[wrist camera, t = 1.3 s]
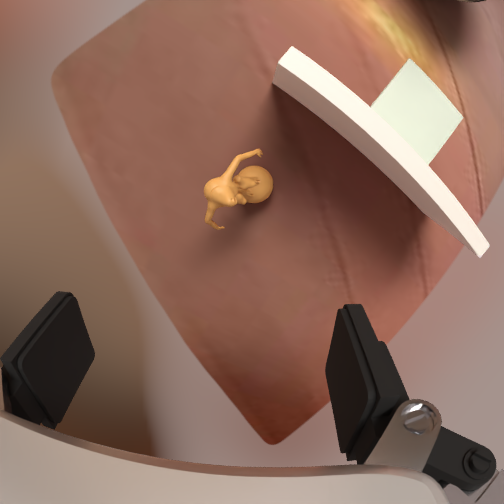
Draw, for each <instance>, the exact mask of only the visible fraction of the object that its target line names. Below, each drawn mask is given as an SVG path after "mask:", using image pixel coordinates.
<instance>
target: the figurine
mask: <svg viewBox="0 0 504 504" xmlns="http://www.w3.org/2000/svg"><path fill="white" fill-rule="evenodd" d="M261 152H262V151H260V149H256V150H254V151H250V152H247V153H244V154H240V155H238V156H236V157H235V158H234V160H233V161H232V163H231V164H230V166H229V167H228V169H227V170H226V172H225V173H224V174H223V175H222V176H221V177H218V178H214V179H211V180H210V181H208V182H207V184H206V185H205V187H204V195H205V197H206V198H207V200H208V209H207V212H206V216H205V222H206V223H207V224H209V225H210V226H212V227H213V228H215V229H223V228H224V227H218V226H217V224H216V223H215V222H213V221H212V220H211V218H212V217H213V215H214V212H215V210H216V209H217V208H219V207H224V206H228V207H232V206H234V205H236V204H243V205H244V204H246V202H249V203H259V202H262V201H264V200H265V199H267V198H268V197H269V195H270V194H271V192H272V189H273V180H272V177H271V175H270V173H269V172H268V171H267V170H266V169H264V168H262V167H260V166H249V167H246V168H244V169H243V170H242V171H241V172H240V173H239V174H238V175H236V176H234V178H233V181H232V176H233V174H234V172H235V171H236V169H237V167H238V165H239V163H240V161H242V160H244V159H246V158H250V157H252V156H254V155H255V154H257V155H258V156H259V157H261V156H260V154H261V155H263V154H262V153H261Z"/></svg>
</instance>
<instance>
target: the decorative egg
mask: <svg viewBox="0 0 504 504" xmlns="http://www.w3.org/2000/svg"><path fill="white" fill-rule="evenodd" d="M458 1H464V2H480V1H486V0H458Z"/></svg>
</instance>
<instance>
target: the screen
mask: <svg viewBox="0 0 504 504" xmlns="http://www.w3.org/2000/svg"><path fill="white" fill-rule="evenodd" d="M272 83H273V84H275V85H276V86H278V87H279V88H280V89H282V90H283V91H285V92H286V93H288V94H289V95H290V96H292V97H293V98H294V99H296V100H297V101H298V102H300V103H301V104H303V105H304V106H305V107H307V108H308V109H309V110H310V111H312V112H313V113H314V114H316V115H317V116H318V117H319V118H321V119H322V120H323V121H325V122H326V123H327V124H328V125H329V126H331V127H332V128H333V129H334V130H336V131H337V132H338V133H339V134H340V135H342V136H343V137H344V138H345V139H346V140H348V141H349V142H350V143H351V144H352V145H353V146H355V147H356V148H357V149H358V150H359V151H360V152H361V153H362V154H364V155H365V156H366V157H367V158H368V159H369V160H370V161H371V162H372V163H374V164H375V165H376V166H377V167H378V168H379V169H380V170H381V171H382V172H383V173H384V174H385V175H386V176H387V177H388V178H389V179H390V180H392V181H393V182H394V183H395V184H396V185H397V186H398V187H399V188H400V189H401V190H402V191H403V192H404V193H405V194H406V195H407V196H408V197H409V198H410V200H411V201H412V202H413V203H414V204H415V205H416V206H417V207H418V208H419V209H420V210H421V211H422V212H423V213H424V214H425V215H427V216H428V217H429V218H431V219H432V220H433V221H435V222H436V223H437V224H439V225H440V226H441V227H443V228H444V229H445V230H446V231H448V232H449V233H450V234H451V235H453V236H454V237H455V238H456V239H458V240H459V241H460V242H461V243H463V244H464V245H465V246H466V247H468V248H469V249H470V250H471V251H472V252H473V253H475V254H476V255H477V256H478V257H479V258H481V256H482V255H483V254H484V253H485V251H486V250H487V249H488V248H489V246H490V245H489V243H488V242H487V240H486V239H485V237H484V236H483V235H482V233H481V232H480V231H479V229H478V227H477V226H476V225H475V223H474V222H473V220H472V219H471V218H470V216H469V215H468V214H467V212H466V211H465V210H464V208H463V207H462V206H461V204H460V203H459V202H458V200H457V199H456V198H455V197H454V195H453V194H452V193H451V192H450V190H449V189H448V188H447V187H446V186H445V184H444V183H443V182H442V181H441V180H440V178H439V177H438V176H437V175H436V174H435V173H434V171H433V170H432V169H431V168H430V167H429V166H428V165H427V164H426V162H425V161H424V160H423V159H422V158H421V157H420V156H419V155H418V154H417V153H416V152H415V150H414V149H413V148H412V147H411V146H410V145H409V144H408V143H407V142H406V141H405V140H404V139H403V138H402V137H401V136H400V135H399V134H398V133H397V132H396V131H395V130H394V129H393V128H392V127H391V126H390V125H389V124H388V123H387V122H386V121H385V120H384V119H382V118H381V117H380V116H379V115H378V114H377V113H376V112H375V111H374V110H373V109H372V108H370V107H369V106H368V105H367V104H366V103H365V102H364V101H363V100H361V99H360V98H359V97H358V96H357V95H356V94H354V93H353V92H352V91H351V90H350V89H348V88H347V87H346V86H345V85H344V84H342V83H341V82H340V81H339V80H337V79H336V78H335V77H334V76H332V75H331V74H330V73H328V72H327V71H326V70H325V69H323V68H322V67H321V66H319V65H318V64H317V63H315V62H314V61H312V60H311V59H310V58H308V57H307V56H305V55H304V54H303V53H301V52H300V51H298V50H297V49H295V48H294V47H293V46H291V48H290V49H289V50H288V51H287V52H286V53H285V55H284V56H283V57H282V58H281V59H280V61H279V62H278V64H277V67H276V71H275V74H274V78H273V82H272Z"/></svg>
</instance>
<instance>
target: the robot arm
mask: <svg viewBox="0 0 504 504" xmlns="http://www.w3.org/2000/svg"><path fill="white" fill-rule="evenodd" d="M94 357H95V352H94V348H93V346H92V343H91V341H90V338H89V335H88V332H87V329H86V326H85V323H84V320H83V318H82V314H81V311H80V308H79V305H78V301H77V299H76V298H75V297H74V296H73V294H72V293H70V292H60V291H59V292H56V294H54V295H53V297H52V298H51V299H50V300H49V301H48V302H47V303H46V304H45V305H44V307H43V308H42V309H41V310H40V311H39V312H38V313H37V314H36V316H35V317H34V318H33V319H32V320H31V321H30V322H29V324H28V325H27V326H26V327H25V328H24V330H23V331H22V332H21V333H20V334H19V336H18V337H17V338H16V339H15V341H14V342H13V343H12V344H11V345H10V347H9V348H8V349H7V350H6V352H5V353H4V354H3V355H2V357H1V358H0V359H1V361H2V363H3V367H2V368H1V366H0V504H504V470H503V469H501V470H500V471H498V470H497V469H496V459H495V457H494V455H493V453H492V452H491V451H490V450H489V449H488V448H486V447H484V446H482V445H480V444H478V443H476V442H474V441H472V440H469V439H467V438H465V437H463V436H461V435H459V434H457V433H454V432H452V431H450V430H448V429H446V428H444V427H442V426H441V424H442V419H441V414H440V413H439V411H438V409H437V408H436V407H435V406H434V405H433V404H431V403H429V402H427V401H424V400H420V399H412V400H409V397H408V395H407V392H406V390H405V387H404V385H403V383H402V380H401V378H400V376H399V373H398V371H397V369H396V367H395V364H394V362H393V359H392V357H391V355H390V353H389V351H388V349H387V346H386V344H385V343H384V342H383V341H378V339H377V337H376V335H375V333H374V330H373V328H372V326H371V324H370V321H369V319H368V317H367V315H366V313H365V310H364V308H363V306H362V305H361V304H345V305H344V306H343V309H338V312H337V316H336V321H335V326H334V331H333V336H332V340H331V345H330V349H329V354H328V358H327V362H326V369H325V372H326V379H327V384H328V389H329V394H330V399H331V403H332V409H333V414H334V420H335V425H336V430H337V436H338V441H339V447H340V451H341V453H346V457H347V461H352V460H357V465H337V466H315V467H281V468H280V467H237V466H222V465H210V464H199V463H191V462H183V461H176V460H169V459H163V458H157V457H151V456H146V455H140V454H136V453H131V452H127V451H122V450H118V449H113V448H110V447H106V446H102V445H98V444H95V443H91V442H88V441H84V440H81V439H78V438H75V437H71V436H68V435H65V434H62V433H59V432H56V431H54V430H51V429H55V428H56V426H57V423H60V422H61V421H62V419H63V417H64V415H65V413H66V411H67V409H68V407H69V405H70V403H71V401H72V399H73V397H74V395H75V393H76V391H77V389H78V388H79V386H80V384H81V382H82V380H83V378H84V376H85V374H86V373H87V371H88V369H89V367H90V365H91V364H92V362H93V360H94ZM40 423H42V424H43V425H44V426H46V427H49V428H51V429H48V428H45V427H43V426H40Z"/></svg>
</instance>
